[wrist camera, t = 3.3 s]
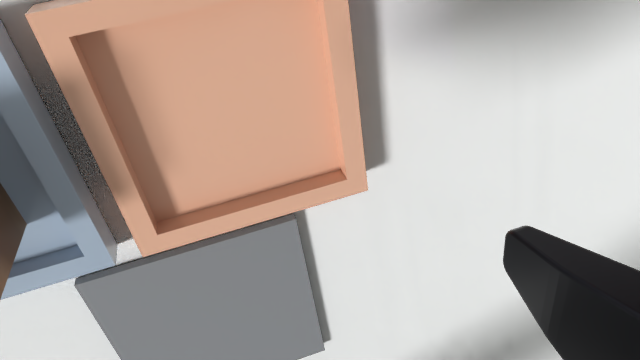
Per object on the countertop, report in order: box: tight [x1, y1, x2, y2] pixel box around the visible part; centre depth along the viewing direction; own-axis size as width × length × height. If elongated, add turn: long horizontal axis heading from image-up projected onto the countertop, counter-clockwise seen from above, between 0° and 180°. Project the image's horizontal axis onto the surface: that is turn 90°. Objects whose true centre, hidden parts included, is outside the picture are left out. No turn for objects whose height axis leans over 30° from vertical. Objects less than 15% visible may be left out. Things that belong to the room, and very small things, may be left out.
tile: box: [74, 214, 325, 360], centre depth 22 cm, size 9×9×1 cm
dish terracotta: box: [25, 0, 368, 257], centre depth 17 cm, size 9×9×1 cm
